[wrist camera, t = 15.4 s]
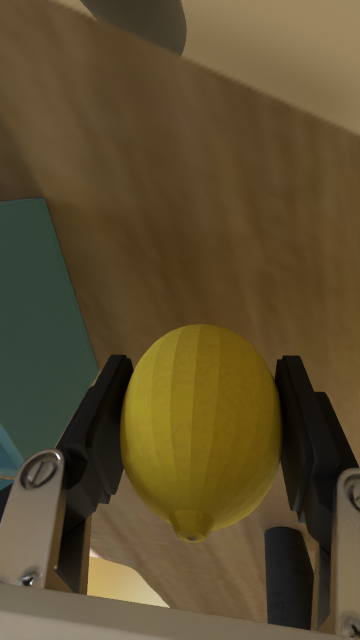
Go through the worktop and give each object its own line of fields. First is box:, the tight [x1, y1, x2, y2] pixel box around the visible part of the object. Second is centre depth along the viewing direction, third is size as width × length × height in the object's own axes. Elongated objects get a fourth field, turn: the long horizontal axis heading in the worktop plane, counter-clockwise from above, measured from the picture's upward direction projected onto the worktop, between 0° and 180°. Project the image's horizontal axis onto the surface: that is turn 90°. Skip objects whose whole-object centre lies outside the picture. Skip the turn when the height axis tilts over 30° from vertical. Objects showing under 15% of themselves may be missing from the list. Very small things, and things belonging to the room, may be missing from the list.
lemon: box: [120, 324, 283, 543], centre depth 10 cm, size 6×6×8 cm
